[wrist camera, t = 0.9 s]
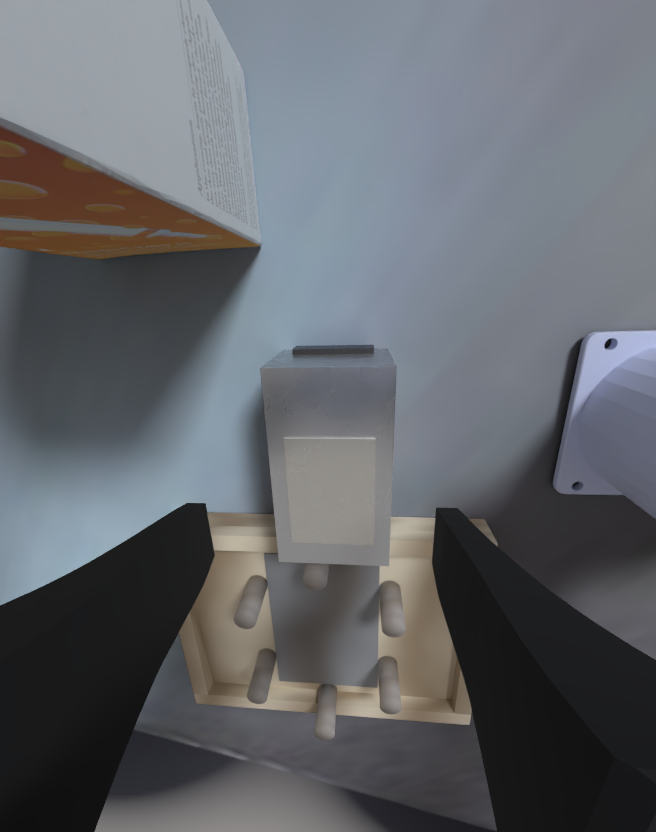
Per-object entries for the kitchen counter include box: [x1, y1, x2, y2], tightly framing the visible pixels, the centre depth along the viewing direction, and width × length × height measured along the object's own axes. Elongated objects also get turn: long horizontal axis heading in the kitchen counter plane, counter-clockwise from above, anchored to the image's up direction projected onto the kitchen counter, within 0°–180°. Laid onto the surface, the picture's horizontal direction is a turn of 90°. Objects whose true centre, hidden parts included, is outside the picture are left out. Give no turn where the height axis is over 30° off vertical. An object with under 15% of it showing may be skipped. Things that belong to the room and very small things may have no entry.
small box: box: [0, 0, 262, 259], centre depth 9 cm, size 8×6×13 cm
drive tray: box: [179, 512, 498, 740], centre depth 20 cm, size 18×14×4 cm
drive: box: [260, 345, 396, 566], centre depth 16 cm, size 5×9×5 cm, turn 2°
